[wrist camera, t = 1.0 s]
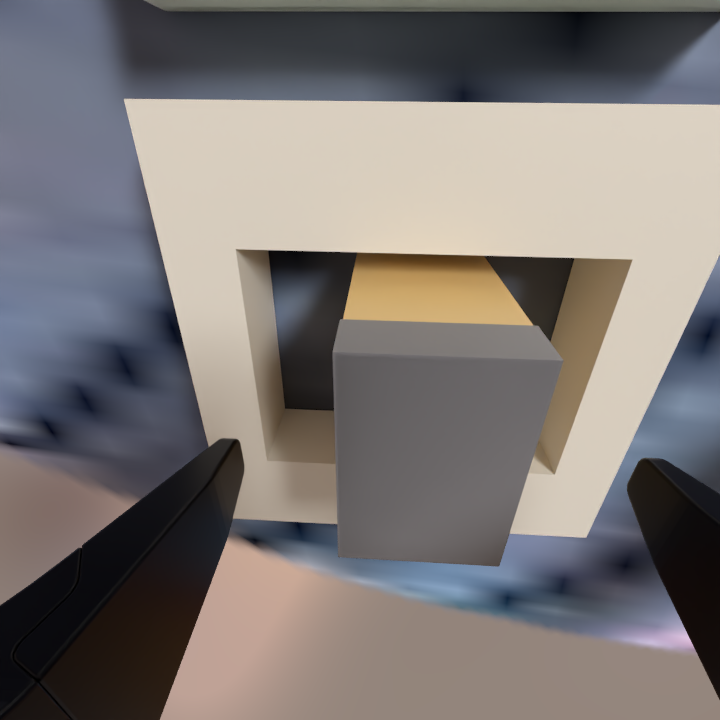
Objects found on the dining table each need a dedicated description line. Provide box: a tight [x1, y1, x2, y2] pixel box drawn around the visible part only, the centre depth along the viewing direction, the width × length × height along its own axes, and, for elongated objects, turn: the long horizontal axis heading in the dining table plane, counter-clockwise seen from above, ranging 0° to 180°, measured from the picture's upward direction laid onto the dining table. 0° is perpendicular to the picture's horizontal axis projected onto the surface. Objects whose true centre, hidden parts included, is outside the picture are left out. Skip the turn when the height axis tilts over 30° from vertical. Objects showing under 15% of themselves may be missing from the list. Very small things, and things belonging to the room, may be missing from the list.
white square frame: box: [124, 99, 720, 538], centre depth 13 cm, size 14×14×3 cm
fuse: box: [333, 252, 564, 566], centre depth 12 cm, size 4×6×7 cm
